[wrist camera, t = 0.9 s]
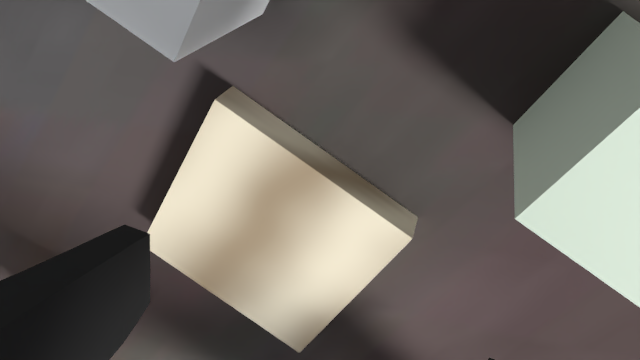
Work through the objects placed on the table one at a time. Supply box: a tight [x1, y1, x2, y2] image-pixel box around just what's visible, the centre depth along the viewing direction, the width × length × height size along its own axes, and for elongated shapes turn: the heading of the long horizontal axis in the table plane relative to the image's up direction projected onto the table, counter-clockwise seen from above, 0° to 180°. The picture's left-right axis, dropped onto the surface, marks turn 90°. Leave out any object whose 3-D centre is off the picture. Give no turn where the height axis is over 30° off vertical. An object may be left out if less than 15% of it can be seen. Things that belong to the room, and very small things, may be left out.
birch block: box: [147, 86, 418, 353], centre depth 23 cm, size 9×9×2 cm
